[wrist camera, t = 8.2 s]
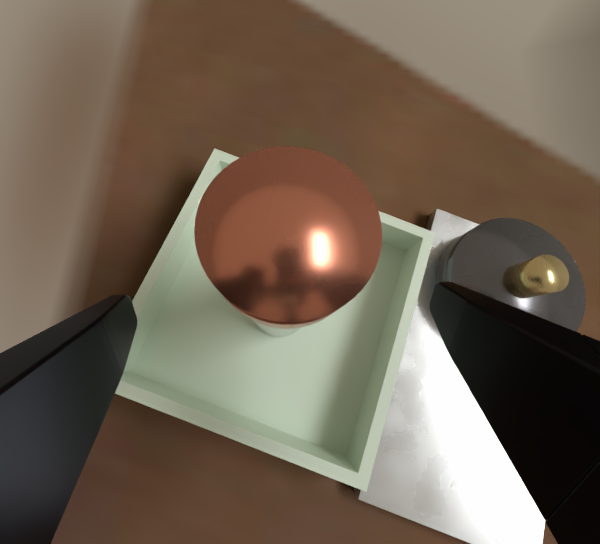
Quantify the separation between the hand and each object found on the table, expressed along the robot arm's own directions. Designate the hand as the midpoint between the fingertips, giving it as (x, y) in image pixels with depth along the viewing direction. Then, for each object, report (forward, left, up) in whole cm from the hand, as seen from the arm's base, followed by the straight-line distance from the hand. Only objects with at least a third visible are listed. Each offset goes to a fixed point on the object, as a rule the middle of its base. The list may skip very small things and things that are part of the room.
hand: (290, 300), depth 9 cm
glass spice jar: (+1, 0, -9) cm, 10 cm away
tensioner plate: (+2, -12, -10) cm, 16 cm away
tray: (+1, +1, -10) cm, 10 cm away
